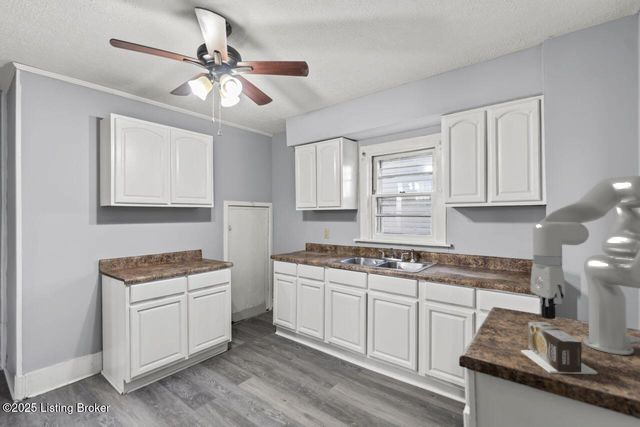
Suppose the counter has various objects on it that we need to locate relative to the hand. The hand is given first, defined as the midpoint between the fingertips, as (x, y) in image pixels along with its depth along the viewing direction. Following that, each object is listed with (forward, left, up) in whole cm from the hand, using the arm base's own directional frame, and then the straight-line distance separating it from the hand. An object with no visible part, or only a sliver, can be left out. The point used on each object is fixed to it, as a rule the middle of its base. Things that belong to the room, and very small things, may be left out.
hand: (548, 317), depth 98 cm
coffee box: (0, -5, -8) cm, 9 cm away
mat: (0, +3, -13) cm, 13 cm away
